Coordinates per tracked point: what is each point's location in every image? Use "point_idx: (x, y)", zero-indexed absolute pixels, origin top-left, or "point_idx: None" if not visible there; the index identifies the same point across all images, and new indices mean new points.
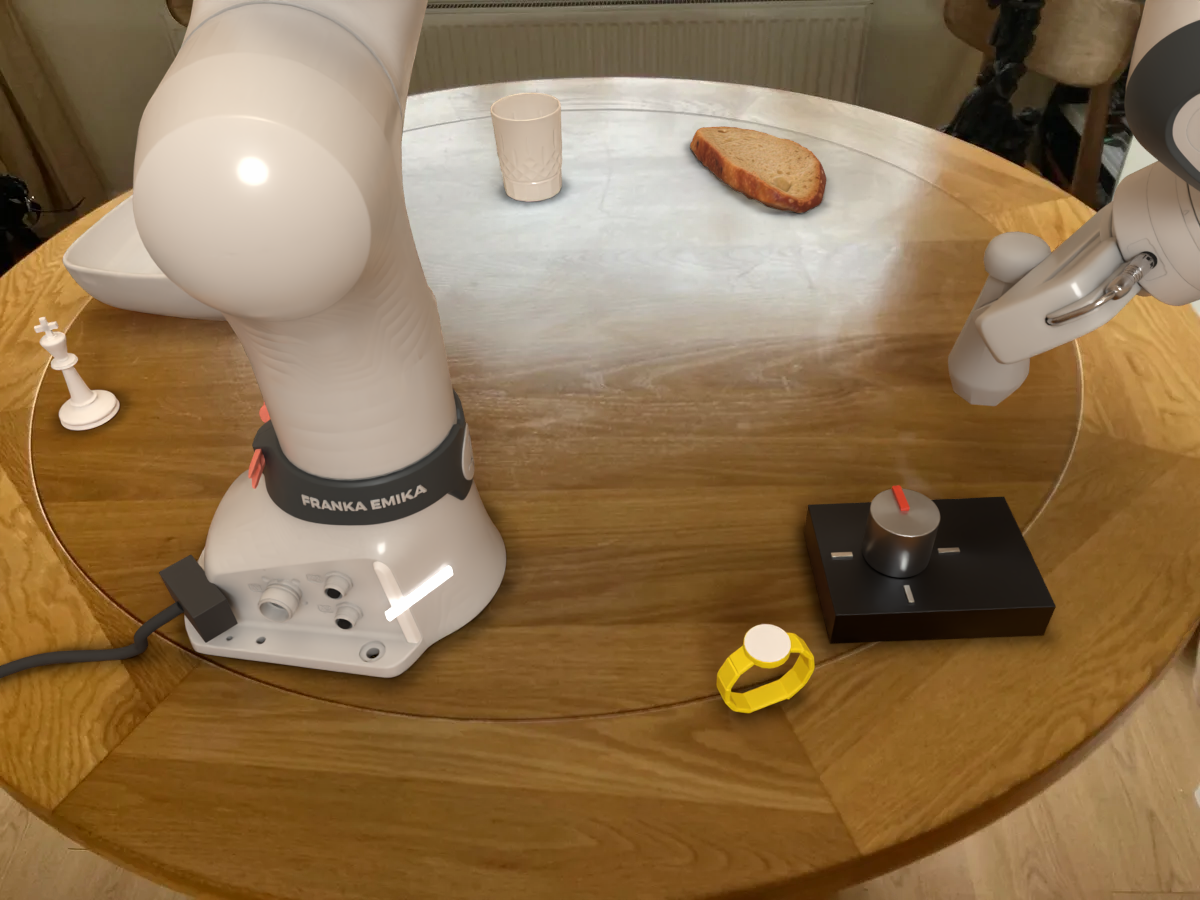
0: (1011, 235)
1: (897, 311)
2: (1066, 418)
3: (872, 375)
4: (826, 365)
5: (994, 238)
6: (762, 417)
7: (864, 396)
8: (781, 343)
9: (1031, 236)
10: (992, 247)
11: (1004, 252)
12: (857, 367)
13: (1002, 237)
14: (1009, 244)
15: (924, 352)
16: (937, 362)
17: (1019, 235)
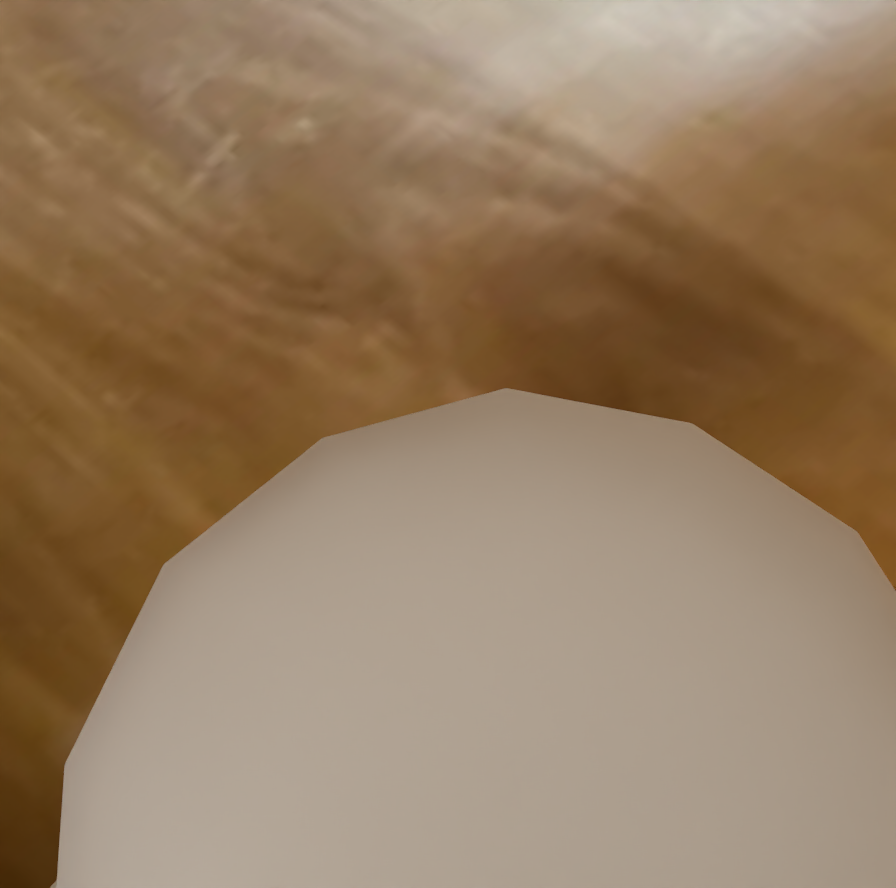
0: (604, 612)
1: (774, 138)
2: None
3: (450, 298)
4: (379, 178)
5: (428, 437)
6: (29, 222)
7: (345, 350)
8: (360, 27)
9: (857, 876)
10: (183, 575)
11: (111, 845)
12: (445, 243)
13: (441, 547)
14: (305, 793)
15: (675, 326)
16: (667, 385)
17: (703, 713)
